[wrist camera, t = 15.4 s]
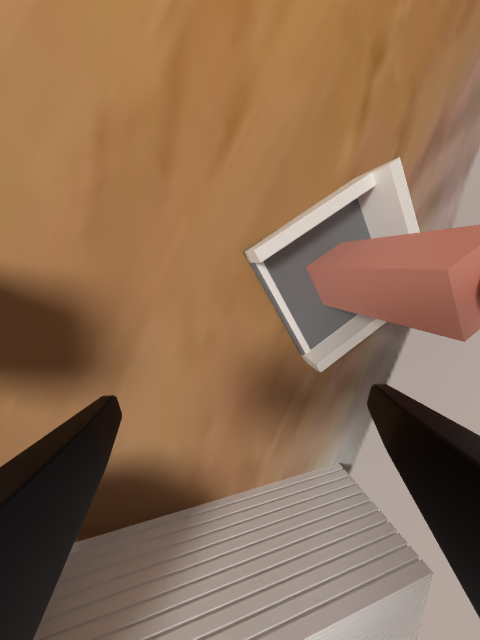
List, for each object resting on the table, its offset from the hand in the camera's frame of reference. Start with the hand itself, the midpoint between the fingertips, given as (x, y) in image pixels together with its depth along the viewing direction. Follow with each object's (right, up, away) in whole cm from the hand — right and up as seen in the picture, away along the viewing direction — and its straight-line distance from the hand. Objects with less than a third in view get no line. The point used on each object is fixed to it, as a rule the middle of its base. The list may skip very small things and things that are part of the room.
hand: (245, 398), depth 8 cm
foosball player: (+8, +7, +13) cm, 17 cm away
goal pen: (+8, +7, +13) cm, 17 cm away
